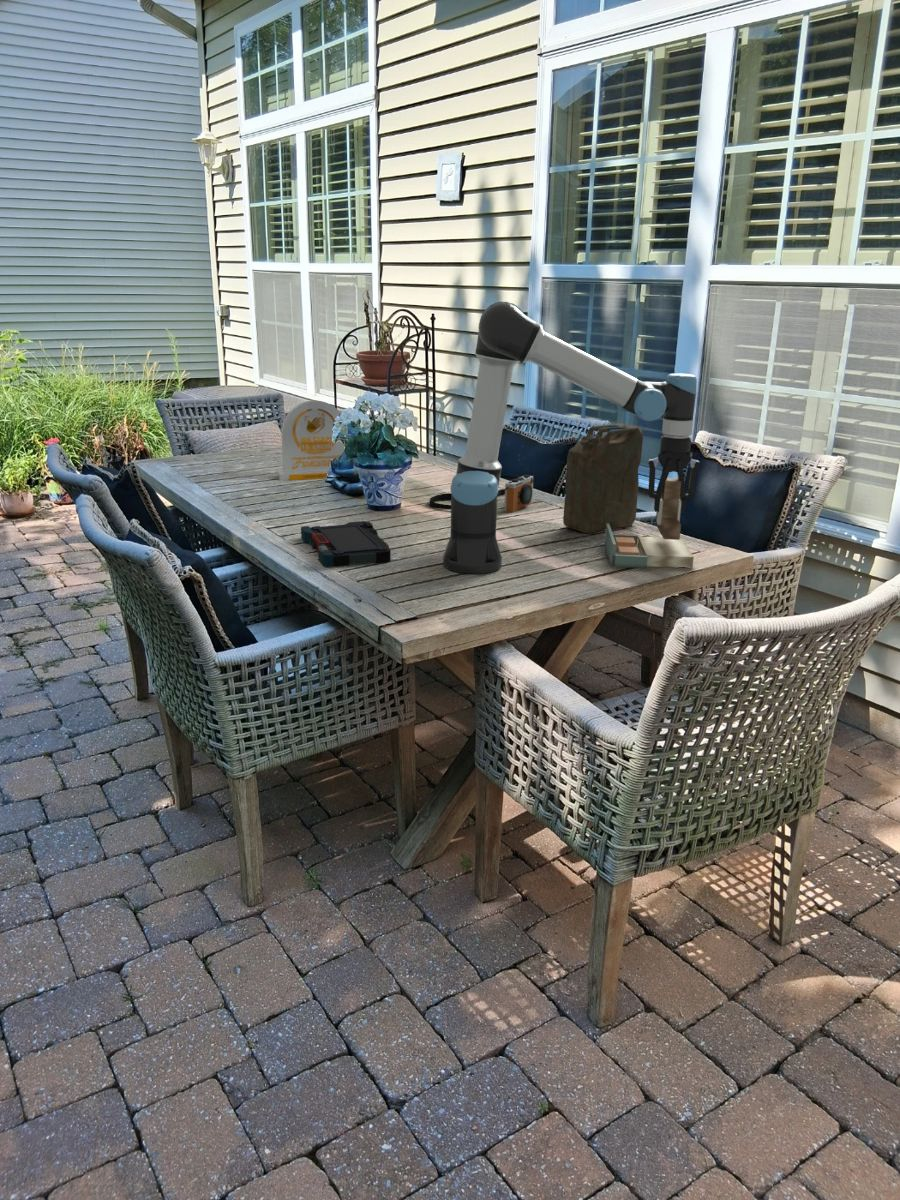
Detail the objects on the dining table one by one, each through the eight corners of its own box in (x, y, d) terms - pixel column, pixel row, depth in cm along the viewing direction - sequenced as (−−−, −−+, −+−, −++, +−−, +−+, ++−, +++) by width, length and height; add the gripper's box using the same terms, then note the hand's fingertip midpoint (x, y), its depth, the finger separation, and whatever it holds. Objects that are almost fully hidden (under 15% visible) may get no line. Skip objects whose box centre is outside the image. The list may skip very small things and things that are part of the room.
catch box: (611, 566, 231) (613, 544, 229) (604, 544, 251) (606, 523, 249) (646, 567, 230) (648, 545, 228) (636, 545, 250) (638, 524, 248)
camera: (506, 520, 275) (507, 488, 272) (421, 507, 288) (421, 477, 285) (543, 501, 300) (545, 471, 297) (464, 490, 313) (464, 462, 310)
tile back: (616, 550, 242) (616, 541, 242) (614, 545, 247) (615, 536, 246) (634, 551, 242) (635, 542, 241) (632, 546, 247) (633, 537, 246)
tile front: (619, 560, 234) (620, 551, 233) (617, 555, 238) (618, 546, 238) (638, 561, 233) (639, 552, 233) (636, 556, 238) (637, 547, 237)
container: (615, 518, 278) (624, 422, 268) (638, 526, 270) (647, 426, 260) (559, 527, 267) (565, 427, 257) (581, 535, 259) (589, 432, 249)
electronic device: (324, 570, 225) (323, 551, 224) (299, 537, 253) (298, 520, 251) (398, 563, 232) (398, 544, 230) (366, 532, 260) (365, 515, 258)
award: (280, 480, 321) (276, 403, 312) (277, 475, 329) (273, 400, 319) (356, 477, 329) (355, 401, 320) (351, 472, 337) (350, 398, 328)
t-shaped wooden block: (663, 539, 230) (669, 485, 225) (655, 523, 245) (660, 473, 240) (679, 539, 230) (685, 486, 225) (670, 524, 245) (675, 473, 240)
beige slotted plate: (645, 566, 232) (646, 555, 231) (637, 546, 249) (638, 536, 248) (692, 568, 231) (693, 557, 230) (681, 548, 248) (682, 538, 247)
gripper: (707, 434, 232) (697, 521, 240) (641, 432, 233) (633, 519, 241) (713, 439, 225) (703, 528, 232) (644, 437, 226) (637, 526, 234)
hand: (667, 523), depth 237 cm, fingers closed on t-shaped wooden block, 4 cm apart
